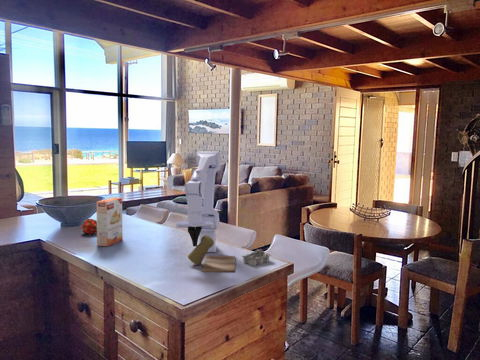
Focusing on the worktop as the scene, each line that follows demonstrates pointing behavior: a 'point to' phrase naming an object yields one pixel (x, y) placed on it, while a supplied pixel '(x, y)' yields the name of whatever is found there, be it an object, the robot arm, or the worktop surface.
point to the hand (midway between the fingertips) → (195, 245)
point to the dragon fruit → (89, 226)
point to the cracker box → (109, 221)
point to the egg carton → (256, 257)
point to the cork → (201, 250)
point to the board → (219, 264)
